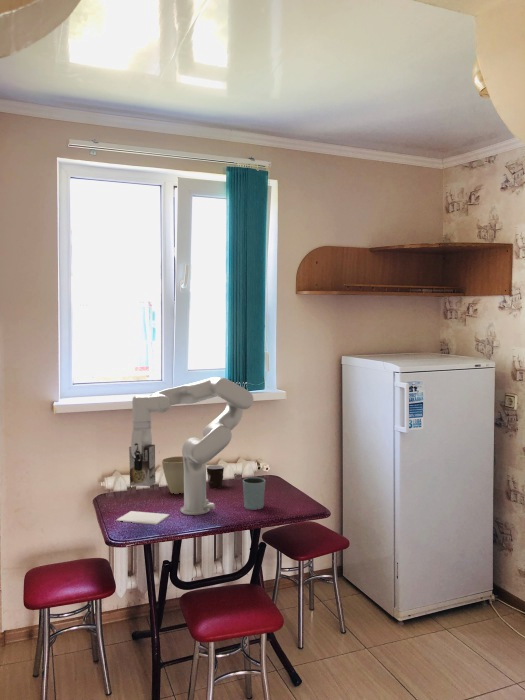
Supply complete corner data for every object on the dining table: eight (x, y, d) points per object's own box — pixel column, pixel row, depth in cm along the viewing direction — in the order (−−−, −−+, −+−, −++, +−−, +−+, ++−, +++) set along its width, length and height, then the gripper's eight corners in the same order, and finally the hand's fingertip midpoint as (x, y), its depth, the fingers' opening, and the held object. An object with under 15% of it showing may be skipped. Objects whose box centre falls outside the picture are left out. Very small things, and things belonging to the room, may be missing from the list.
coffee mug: (206, 484, 292) (206, 465, 292) (223, 484, 293) (223, 464, 293) (207, 491, 280) (206, 470, 280) (224, 490, 281) (224, 470, 281)
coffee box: (156, 482, 241) (155, 444, 240) (150, 486, 234) (149, 447, 234) (135, 481, 243) (135, 443, 242) (129, 485, 236) (128, 446, 236)
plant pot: (185, 486, 289) (185, 454, 289) (198, 493, 277) (197, 460, 276) (157, 490, 282) (157, 458, 281) (169, 497, 269) (168, 464, 268)
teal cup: (249, 502, 261) (249, 476, 260) (269, 505, 256) (269, 478, 256) (238, 508, 252) (238, 481, 251) (259, 511, 247) (259, 483, 247)
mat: (169, 515, 242) (169, 514, 242) (156, 524, 231) (156, 523, 231) (130, 512, 247) (130, 511, 247) (116, 521, 236) (116, 519, 236)
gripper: (143, 422, 247) (144, 463, 248) (123, 428, 231) (123, 472, 231) (159, 422, 245) (160, 464, 246) (140, 429, 229) (140, 473, 229)
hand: (142, 467), depth 238 cm, fingers closed on coffee box, 6 cm apart
